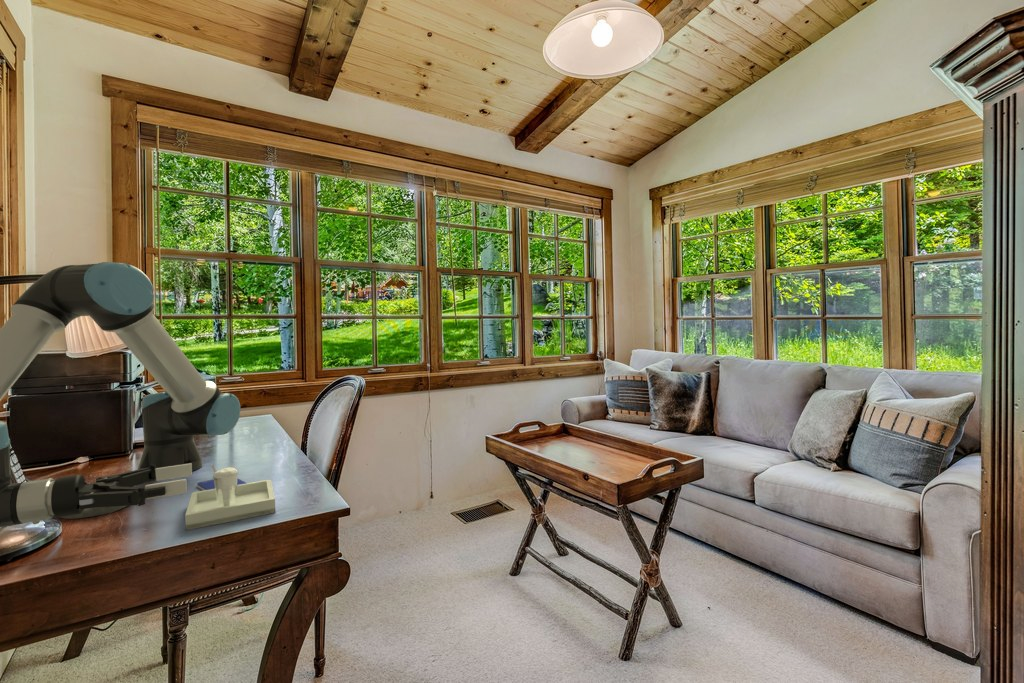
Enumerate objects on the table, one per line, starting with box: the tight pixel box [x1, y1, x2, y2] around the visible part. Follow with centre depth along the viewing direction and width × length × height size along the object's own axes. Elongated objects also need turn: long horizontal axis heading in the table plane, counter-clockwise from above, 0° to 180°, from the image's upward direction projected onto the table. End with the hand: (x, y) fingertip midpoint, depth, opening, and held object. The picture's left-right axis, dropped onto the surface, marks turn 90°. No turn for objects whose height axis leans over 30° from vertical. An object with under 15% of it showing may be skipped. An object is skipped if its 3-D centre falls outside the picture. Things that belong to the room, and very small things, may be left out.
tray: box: [184, 479, 276, 531], centre depth 106 cm, size 16×16×3 cm
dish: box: [60, 486, 136, 520], centre depth 109 cm, size 14×14×5 cm
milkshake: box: [211, 463, 239, 508], centre depth 102 cm, size 5×5×10 cm
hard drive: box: [196, 477, 247, 491], centre depth 122 cm, size 2×8×12 cm
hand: (189, 477), depth 102 cm, fingers open, 13 cm apart
